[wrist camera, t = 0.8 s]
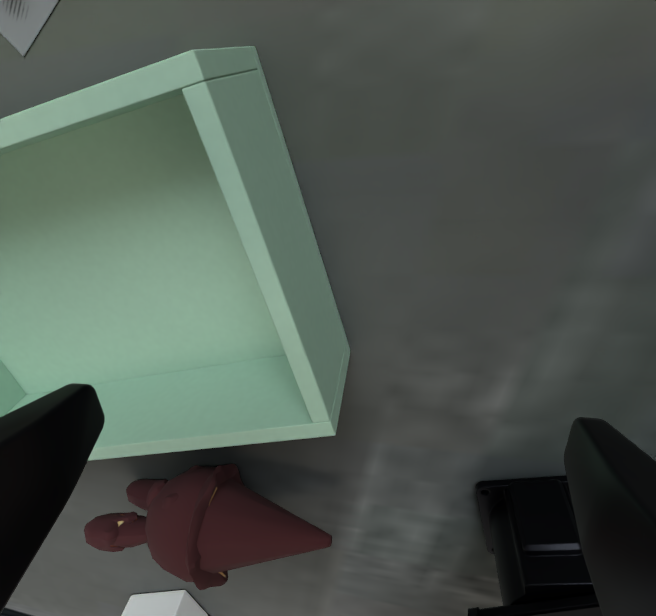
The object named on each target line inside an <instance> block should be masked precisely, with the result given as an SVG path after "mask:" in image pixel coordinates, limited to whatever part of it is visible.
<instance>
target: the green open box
mask: <svg viewBox="0 0 656 616" xmlns="http://www.w3.org/2000/svg"><path fill="white" fill-rule="evenodd" d="M350 351H351V350H350V347H349V344H348V341H347V338H346V334H345V331H344V328H343V325H342V322H341V318H340V315H339V312H338V309H337V306H336V303H335V299H334V296H333V293H332V290H331V287H330V283H329V280H328V277H327V274H326V271H325V267H324V264H323V261H322V258H321V255H320V251H319V248H318V245H317V242H316V239H315V236H314V232H313V229H312V226H311V223H310V220H309V216H308V213H307V210H306V207H305V204H304V200H303V197H302V194H301V191H300V188H299V184H298V181H297V178H296V175H295V172H294V169H293V165H292V162H291V159H290V156H289V153H288V149H287V146H286V143H285V140H284V137H283V133H282V130H281V127H280V124H279V121H278V117H277V114H276V111H275V108H274V105H273V102H272V98H271V95H270V92H269V89H268V86H267V82H266V79H265V76H264V73H263V70H262V66H261V63H260V60H259V57H258V54H257V50H256V47H255V46H246V47H230V48H214V49H198V50H190V51H188V52H185V53H182V54H179V55H176V56H174V57H171V58H168V59H165V60H163V61H160V62H157V63H154V64H151V65H149V66H146V67H143V68H140V69H138V70H135V71H132V72H129V73H126V74H124V75H121V76H118V77H115V78H113V79H110V80H107V81H104V82H102V83H99V84H96V85H93V86H90V87H88V88H85V89H82V90H79V91H77V92H74V93H71V94H68V95H65V96H63V97H60V98H57V99H54V100H52V101H49V102H46V103H43V104H40V105H38V106H35V107H32V108H29V109H27V110H24V111H21V112H18V113H15V114H13V115H10V116H7V117H4V118H2V119H0V417H2V416H4V415H6V414H8V413H10V412H12V411H14V410H16V409H18V408H20V407H22V406H24V405H26V404H28V403H30V402H33V401H35V400H37V399H39V398H41V397H43V396H45V395H47V394H49V393H51V392H53V391H55V390H57V389H59V388H61V387H63V386H65V385H68V384H71V383H80V384H89V385H92V386H93V387H94V389H95V390H96V393H97V396H98V399H99V401H100V404H101V407H102V409H103V412H104V415H105V423H104V427H103V429H102V431H101V433H100V435H99V438H98V440H97V442H96V444H95V446H94V448H93V450H92V452H91V454H90V456H89V459H88V461H90V460H100V459H110V458H120V457H129V456H139V455H149V454H159V453H169V452H178V451H188V450H198V449H208V448H218V447H227V446H237V445H247V444H257V443H267V442H276V441H286V440H296V439H306V438H316V437H325V436H335V435H336V430H337V424H338V418H339V413H340V407H341V402H342V396H343V391H344V385H345V380H346V374H347V368H348V363H349V357H350Z"/></svg>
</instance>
